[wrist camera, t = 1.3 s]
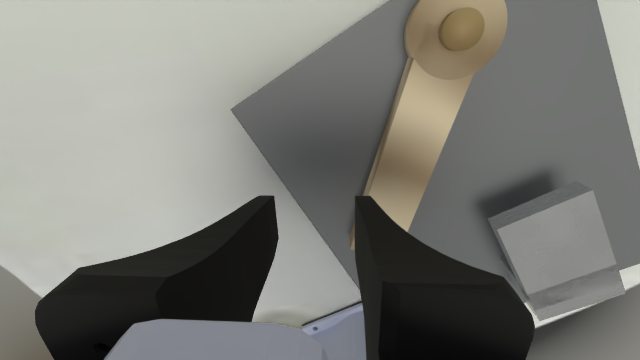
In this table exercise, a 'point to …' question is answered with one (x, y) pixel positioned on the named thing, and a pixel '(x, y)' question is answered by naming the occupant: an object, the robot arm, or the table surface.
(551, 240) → the block
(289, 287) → the table surface
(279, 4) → the table surface
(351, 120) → the board
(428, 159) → the link
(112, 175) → the table surface
